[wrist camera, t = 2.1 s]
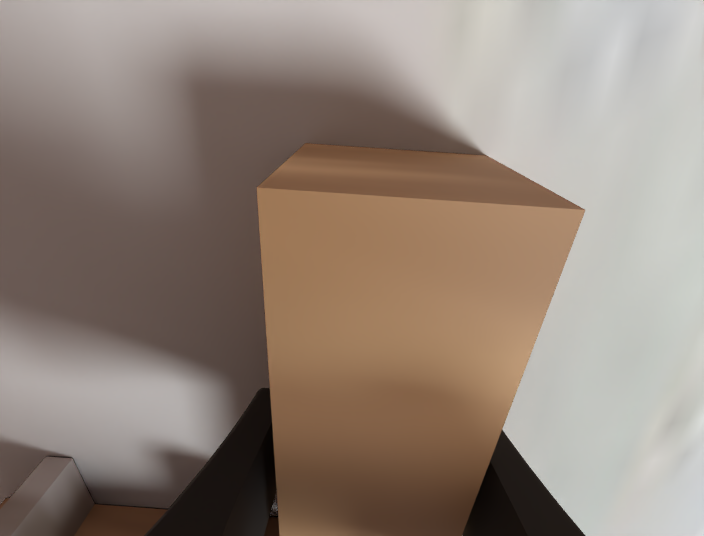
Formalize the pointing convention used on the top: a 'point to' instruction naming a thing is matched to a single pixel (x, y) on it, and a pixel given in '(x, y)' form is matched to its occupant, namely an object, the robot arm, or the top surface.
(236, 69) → the top surface
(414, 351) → the tan wooden bar
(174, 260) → the top surface
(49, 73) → the top surface
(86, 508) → the wooden base
